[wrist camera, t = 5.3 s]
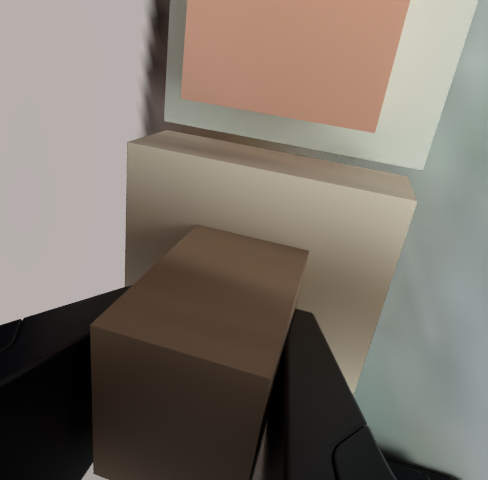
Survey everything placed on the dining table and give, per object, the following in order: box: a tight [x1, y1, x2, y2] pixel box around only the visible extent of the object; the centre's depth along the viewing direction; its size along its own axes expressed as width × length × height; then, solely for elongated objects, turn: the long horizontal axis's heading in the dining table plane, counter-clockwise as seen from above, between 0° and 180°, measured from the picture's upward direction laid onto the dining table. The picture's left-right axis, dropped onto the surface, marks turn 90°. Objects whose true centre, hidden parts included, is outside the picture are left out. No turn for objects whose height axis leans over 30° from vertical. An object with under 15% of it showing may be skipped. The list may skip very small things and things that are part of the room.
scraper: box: [90, 130, 418, 480], centre depth 9 cm, size 6×6×6 cm
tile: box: [181, 0, 410, 133], centre depth 8 cm, size 4×4×2 cm
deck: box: [164, 0, 478, 170], centre depth 11 cm, size 7×7×3 cm
